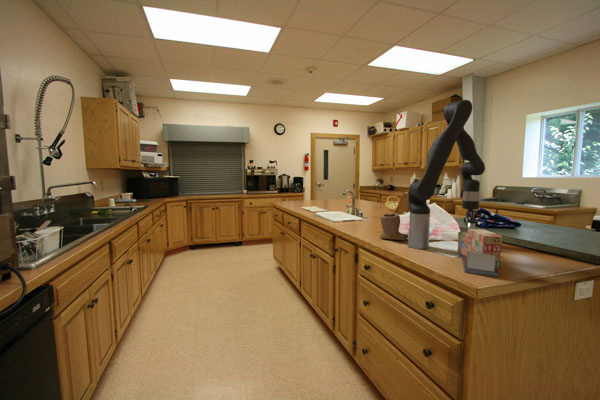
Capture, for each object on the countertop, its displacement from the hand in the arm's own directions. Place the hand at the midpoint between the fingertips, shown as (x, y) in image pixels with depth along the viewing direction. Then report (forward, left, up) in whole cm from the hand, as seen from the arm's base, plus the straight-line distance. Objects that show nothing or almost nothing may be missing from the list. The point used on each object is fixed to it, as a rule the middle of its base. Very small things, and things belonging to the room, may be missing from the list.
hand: (468, 232), depth 138 cm
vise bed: (0, -33, -6) cm, 34 cm away
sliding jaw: (0, -14, -4) cm, 15 cm away
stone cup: (-37, -10, -6) cm, 39 cm away
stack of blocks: (0, -36, -5) cm, 36 cm away
